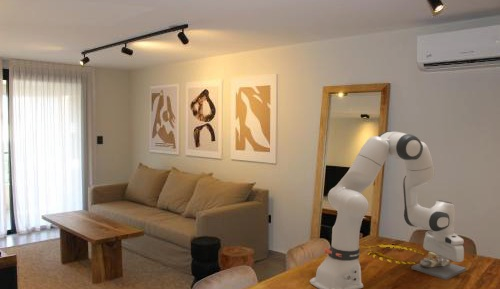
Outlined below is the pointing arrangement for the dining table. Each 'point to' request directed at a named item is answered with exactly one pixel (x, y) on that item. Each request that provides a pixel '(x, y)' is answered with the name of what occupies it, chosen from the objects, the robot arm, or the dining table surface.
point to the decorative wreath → (391, 257)
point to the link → (432, 263)
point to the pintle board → (439, 269)
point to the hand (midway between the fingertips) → (441, 265)
